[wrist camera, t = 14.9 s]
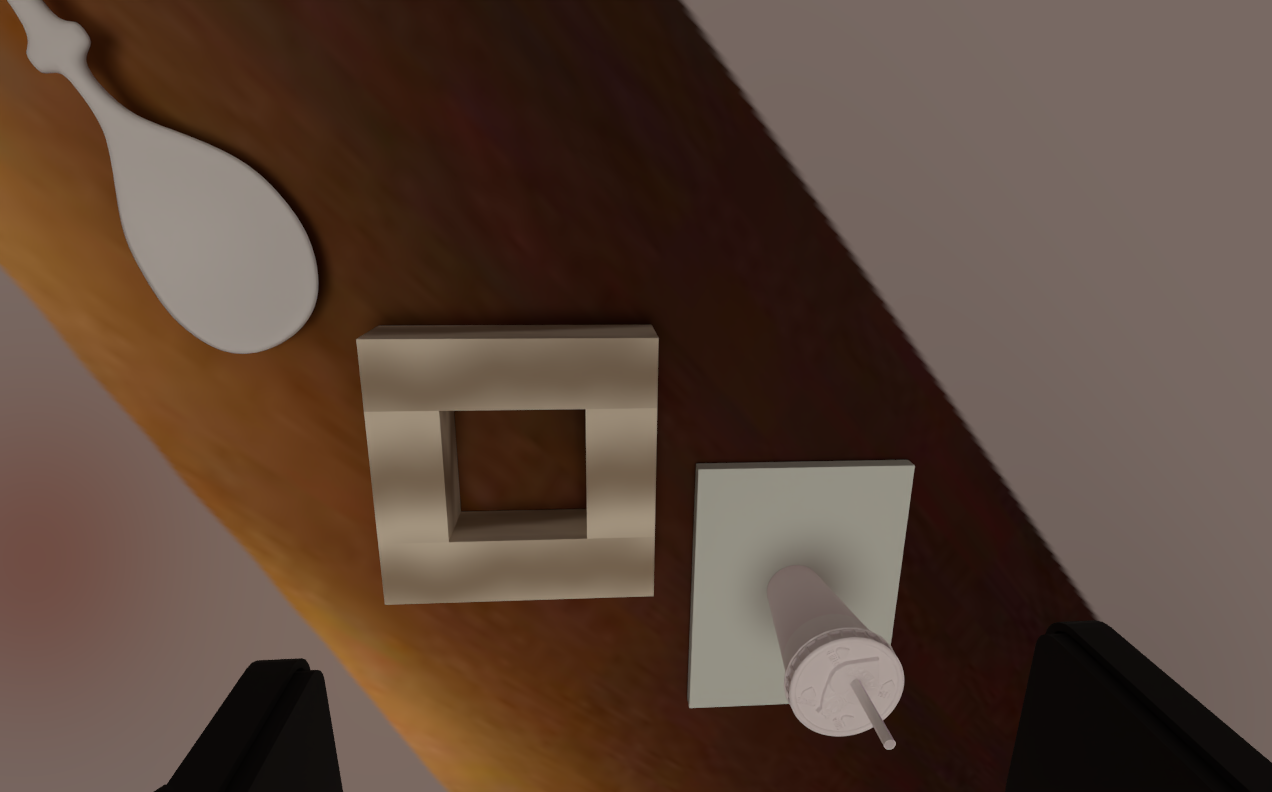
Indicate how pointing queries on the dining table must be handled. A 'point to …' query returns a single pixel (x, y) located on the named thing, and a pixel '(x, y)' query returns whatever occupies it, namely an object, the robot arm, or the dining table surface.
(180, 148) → the white long flared piece
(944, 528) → the dining table surface
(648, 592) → the wooden square frame
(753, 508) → the serving board
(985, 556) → the dining table surface
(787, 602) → the smoothie
